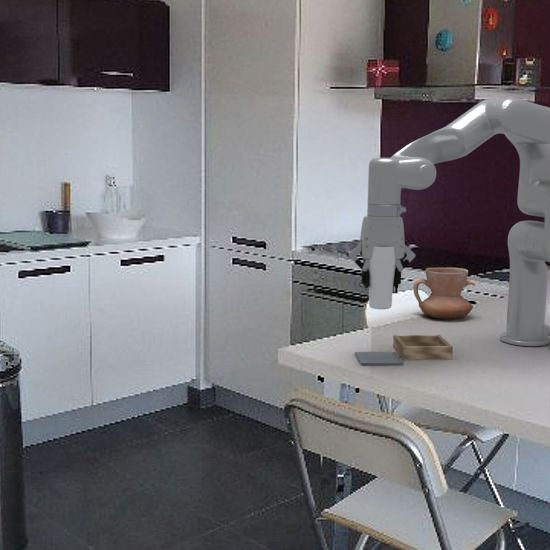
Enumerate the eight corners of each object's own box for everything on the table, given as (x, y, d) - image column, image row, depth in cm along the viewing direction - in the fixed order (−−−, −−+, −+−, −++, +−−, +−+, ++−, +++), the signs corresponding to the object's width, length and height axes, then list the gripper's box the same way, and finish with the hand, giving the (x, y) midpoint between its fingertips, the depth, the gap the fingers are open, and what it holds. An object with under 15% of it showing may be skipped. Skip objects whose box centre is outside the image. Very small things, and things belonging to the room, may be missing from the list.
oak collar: (439, 346, 216) (440, 334, 215) (452, 359, 204) (452, 347, 204) (393, 346, 215) (393, 335, 214) (403, 359, 203) (403, 347, 203)
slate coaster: (394, 353, 208) (394, 351, 208) (403, 365, 198) (403, 362, 198) (354, 354, 207) (354, 351, 207) (361, 365, 198) (361, 363, 197)
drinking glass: (393, 311, 197) (395, 247, 194) (364, 309, 198) (366, 246, 195) (395, 305, 203) (397, 243, 201) (367, 304, 205) (368, 242, 202)
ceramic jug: (475, 313, 254) (477, 266, 252) (473, 323, 241) (475, 274, 238) (415, 310, 259) (416, 265, 257) (410, 320, 245) (411, 272, 243)
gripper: (416, 210, 201) (413, 284, 204) (344, 209, 200) (342, 284, 203) (424, 213, 194) (420, 290, 197) (349, 212, 192) (347, 290, 195)
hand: (380, 286), depth 200 cm, fingers closed on drinking glass, 6 cm apart
